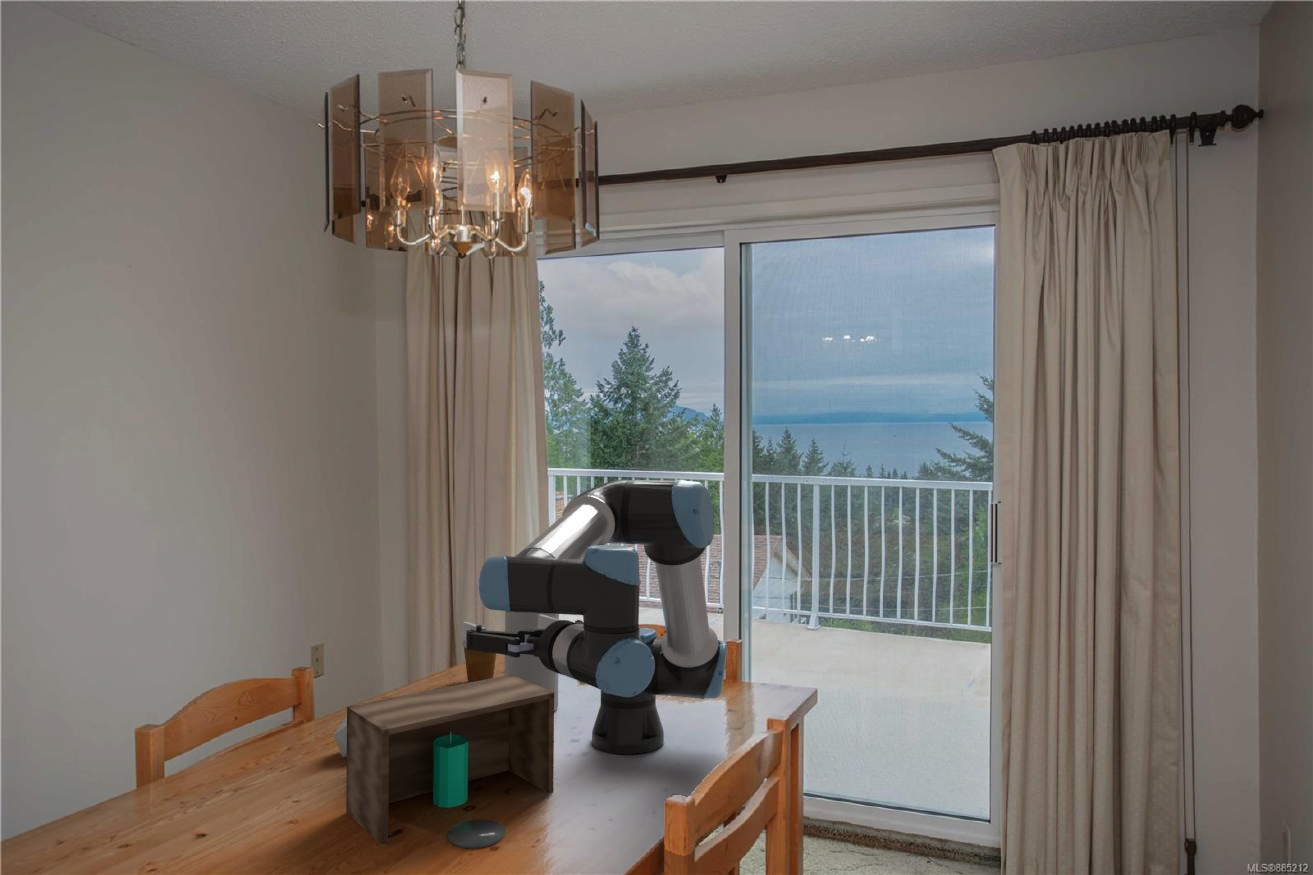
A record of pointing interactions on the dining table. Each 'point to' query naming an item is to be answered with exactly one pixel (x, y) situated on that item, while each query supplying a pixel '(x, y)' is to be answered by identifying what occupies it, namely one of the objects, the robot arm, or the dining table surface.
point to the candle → (450, 771)
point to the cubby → (403, 729)
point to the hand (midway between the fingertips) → (503, 626)
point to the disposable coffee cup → (479, 664)
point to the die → (342, 738)
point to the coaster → (476, 833)
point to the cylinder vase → (529, 664)
